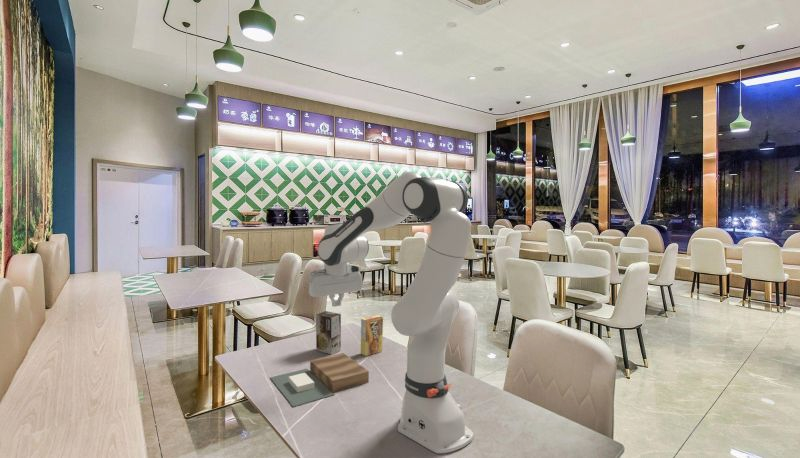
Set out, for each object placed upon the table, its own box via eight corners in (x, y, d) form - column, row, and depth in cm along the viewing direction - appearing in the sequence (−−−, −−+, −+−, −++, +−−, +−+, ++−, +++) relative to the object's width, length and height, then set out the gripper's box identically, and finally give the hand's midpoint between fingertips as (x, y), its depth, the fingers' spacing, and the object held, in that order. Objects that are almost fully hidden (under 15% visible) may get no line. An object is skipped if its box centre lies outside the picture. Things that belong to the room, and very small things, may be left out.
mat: (334, 395, 131) (334, 394, 131) (293, 407, 123) (293, 406, 123) (306, 369, 151) (306, 368, 151) (270, 378, 143) (270, 377, 143)
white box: (297, 386, 132) (297, 392, 132) (314, 382, 135) (314, 387, 135) (288, 376, 139) (288, 382, 139) (304, 372, 142) (304, 378, 143)
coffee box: (341, 350, 170) (341, 313, 169) (331, 355, 165) (331, 317, 164) (325, 345, 175) (325, 310, 174) (315, 350, 170) (315, 313, 169)
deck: (368, 381, 141) (368, 371, 141) (332, 392, 133) (332, 380, 133) (343, 362, 157) (343, 353, 157) (310, 370, 149) (310, 360, 149)
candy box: (377, 348, 173) (377, 314, 172) (382, 351, 170) (383, 316, 168) (360, 353, 167) (360, 318, 166) (365, 356, 164) (366, 320, 163)
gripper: (312, 272, 133) (313, 312, 134) (364, 266, 145) (364, 303, 146) (305, 269, 138) (306, 308, 139) (356, 264, 150) (356, 300, 151)
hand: (336, 305), depth 143 cm, fingers closed
